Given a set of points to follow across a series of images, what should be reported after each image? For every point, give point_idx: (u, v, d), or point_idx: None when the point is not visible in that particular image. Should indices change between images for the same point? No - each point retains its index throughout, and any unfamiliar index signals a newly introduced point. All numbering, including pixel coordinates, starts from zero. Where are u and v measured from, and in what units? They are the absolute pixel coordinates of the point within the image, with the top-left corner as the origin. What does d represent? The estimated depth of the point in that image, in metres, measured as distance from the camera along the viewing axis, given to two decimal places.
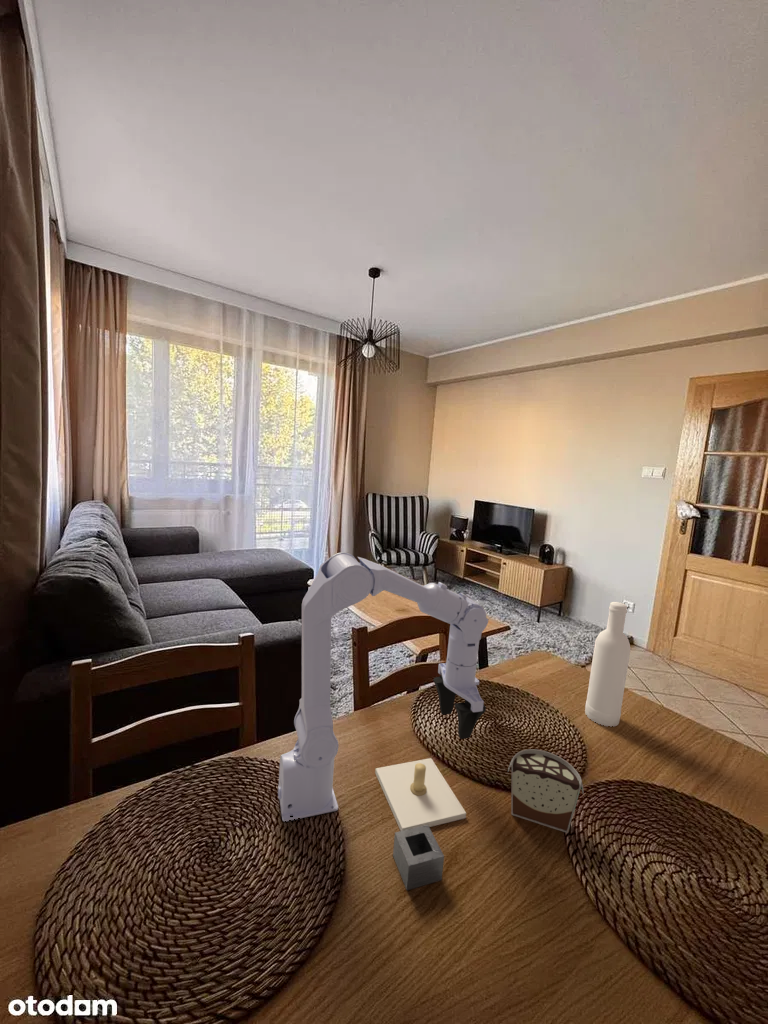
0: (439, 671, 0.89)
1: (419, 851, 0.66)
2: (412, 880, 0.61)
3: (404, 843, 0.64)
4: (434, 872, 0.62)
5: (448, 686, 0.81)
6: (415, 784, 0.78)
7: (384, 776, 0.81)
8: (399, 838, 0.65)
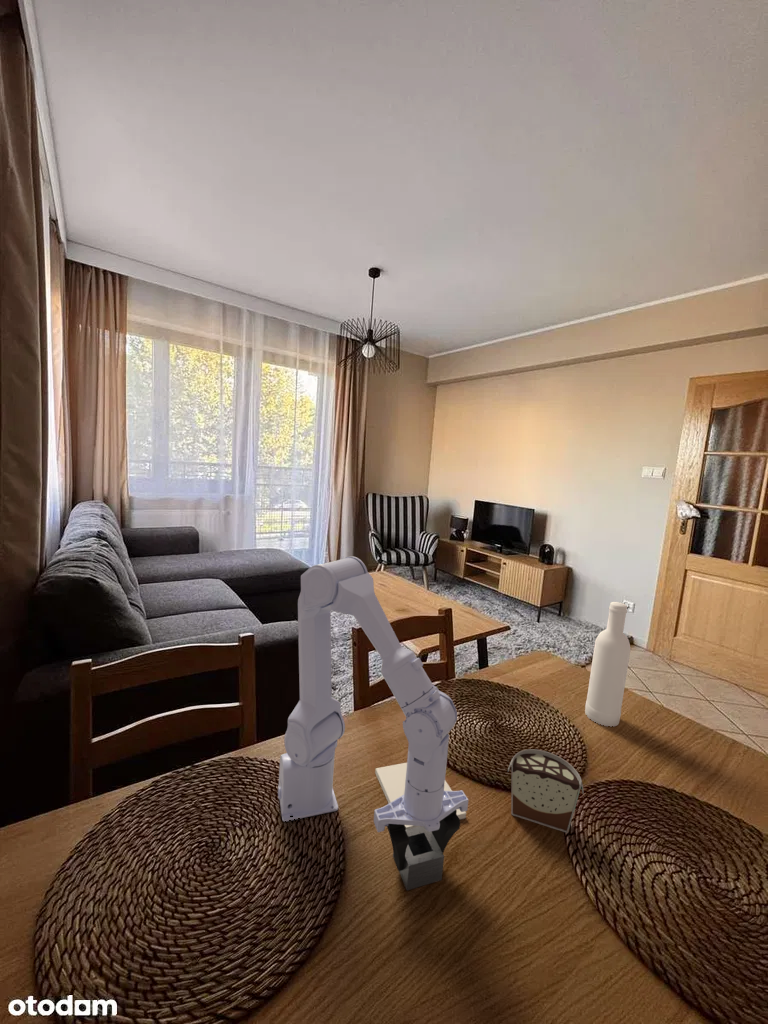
0: None
1: (419, 851, 0.66)
2: (412, 880, 0.61)
3: None
4: (434, 872, 0.62)
5: None
6: None
7: (384, 776, 0.81)
8: None
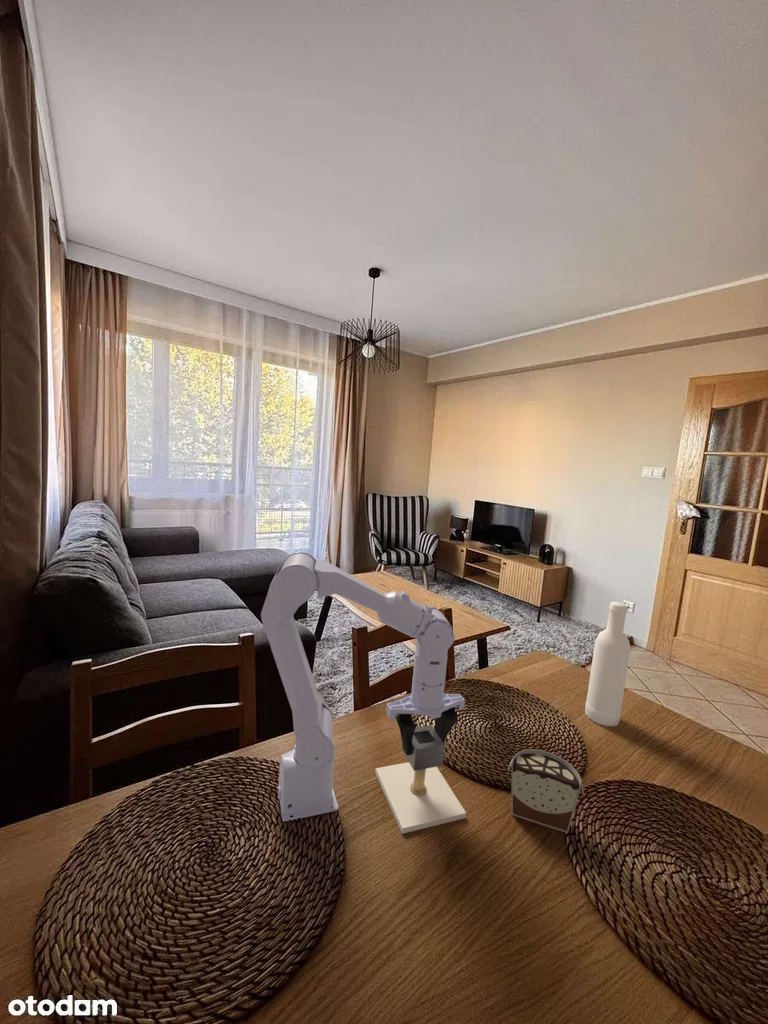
0: None
1: None
2: (418, 763, 0.74)
3: None
4: (437, 758, 0.75)
5: None
6: (415, 784, 0.78)
7: (384, 776, 0.81)
8: None
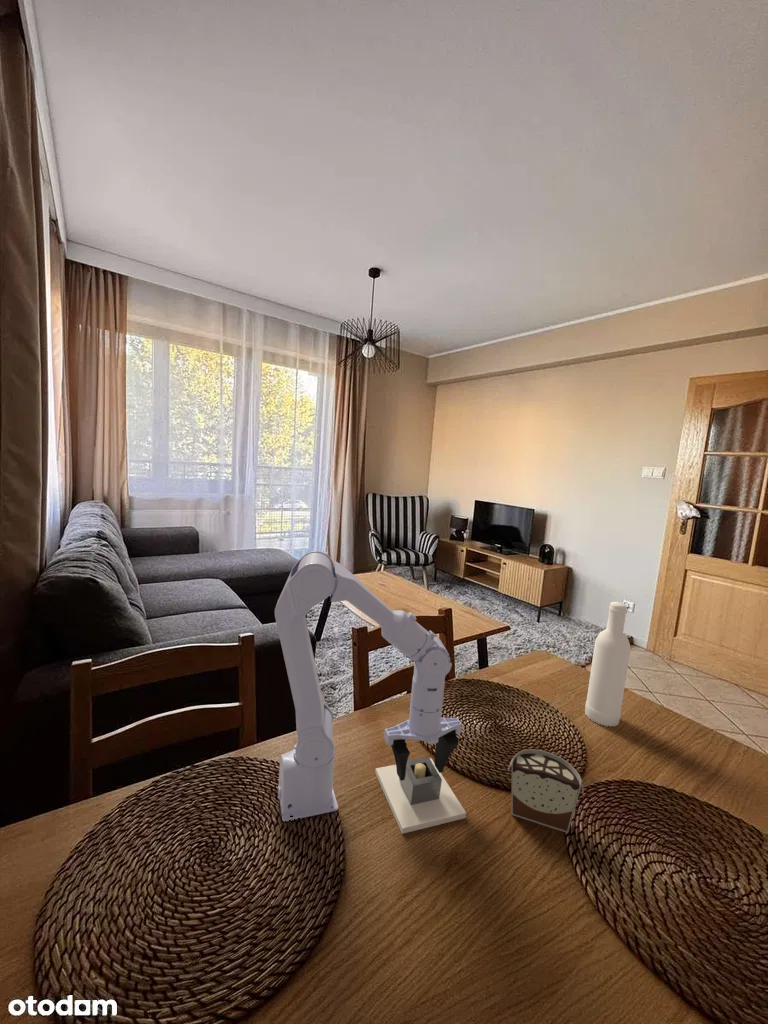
0: None
1: None
2: (415, 797, 0.75)
3: (408, 769, 0.77)
4: (433, 792, 0.76)
5: None
6: None
7: (384, 776, 0.81)
8: None
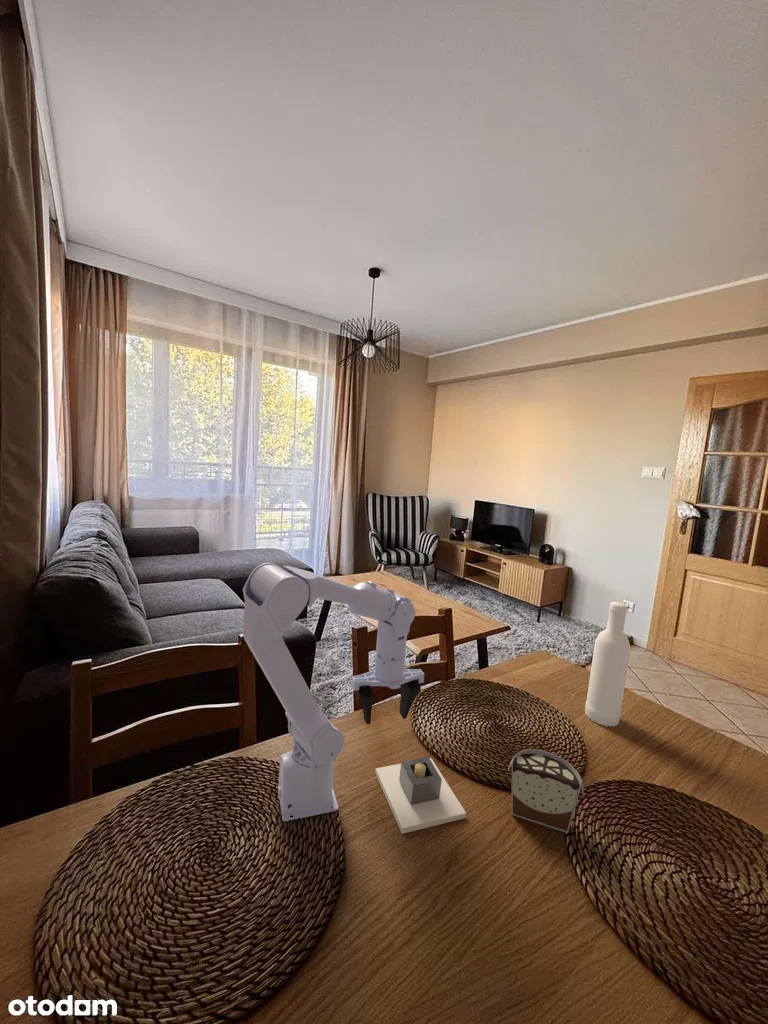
0: None
1: None
2: (415, 797, 0.75)
3: (408, 769, 0.77)
4: (433, 792, 0.76)
5: None
6: None
7: (384, 776, 0.81)
8: (405, 766, 0.78)
